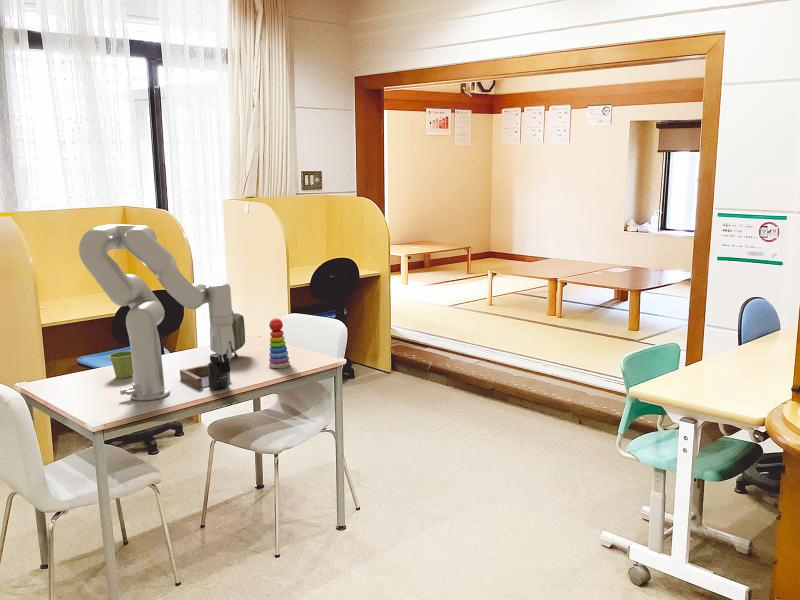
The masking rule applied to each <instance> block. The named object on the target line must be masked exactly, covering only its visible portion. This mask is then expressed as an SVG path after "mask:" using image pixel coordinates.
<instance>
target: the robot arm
mask: <svg viewBox="0 0 800 600" xmlns="http://www.w3.org/2000/svg"><path fill="white" fill-rule="evenodd" d="M113 250H127V251H128V252H129V253H130V254H131V255H133V256H134V257H135V258H136V259H137V260H139V262H140V263H142V264H143V265H144V267H146V268H147V269H148V270H149V271H150V272H151V273H153V274H154V276H155V278H156V279H157V280H158V282H159V283H160V284H161V287H163V289H164V290H165V291H166V292H167V293H168V294H169V295H170V296H171V297H172V298H173V299H175V301H176V302H177V303H179V304H180V305H182V307H185V308H186V309H188V310H196V309H199V308H200V307H201V306H202V305H205V304H208V314H209V315H208V316H209V325H210V326H209V342H210V343H209V344H210V345H209V346H210V350H211V351H212V352H213V353H214V354H215V353H217V354H218V360H219V368H220V373H222V374H223V373H228V372H230V373H231V359H232V358H233V354H234V351H235V343H234V335H233V328H232V324H233V316H232V311H233V305H232V291H231V290H232V289H231V285H230V284H229V283H226V282H215V283H209V282H199V281H198V282H193V283H191V282H190V281H189V280H188V279H187V277H185V276H184V275H183V274H182V273H181V271H180V270H179V268H178V266H177V262H176V258H175V256H174V255H173V254H172V253H171V252H169V251H168V250H167V249H166V248H165V247H164V246H163V245H162V244H160V242H159V241H157V233H156V232H155V231H154V229H152V228H151V227H149V226H148V225H142V224H141V225H140V224H138V225H134V224H103V225H98V226H94V227H91V228H90V229H88V230H87V231H85V233H83V235H82V237H81V239H80V242H79V246H78V253H79V257H80V260H81V263H82V264H83V266H85V268H86V269H87V271H88V272H89V273H90V274H91V275H92V278H94V279H95V281H96V282H97V283H98V285H99V287H100V288H101V289H102V290H103V292H104V293H105V294H106V296H107V297H109V299H110V301H111V302H112V303H114V304H115V305H116V306H118V307H127V306H128V307H129V308H130V309H129V311H128V312H127V313H126V314H127V315H126V316H125V326H126V331H127V334H128V340H129V345H130V351H131V356H132V365H133V383H131V386H129V387H127V388H121V389H120V390H119V394H120V395H121V396H123V395H127V396H129V395H130V398H131V400H134V401H140V402H141V401H142V402H143V401H144V402H145V401H153V400H157V399H159V400H160V399H162V398H165V397H166V396H168V395H169V394H170V393H171V390H170V388H169V387H167V386H165V380H164V378H165V377H164V367H163V358H162V348H161V341H160V340H161V339H160V334H159V331H158V325H160V324H161V323H162V322H163V320H164V318H165V309H164V306H163V305H162V303H161V301H160V300H159V298H157V296H156V295H155V293H154V292H153V291H152V290H151V288H150V287H149V286H148V284H147V283H146V282H145V281H144V280H143V279H142V278H141V277H139V276H138V275H137V274H132V273H131V274H130V273H127V274H126V273H125V271H124V270H123V269H122V268H121V266H120V265H119V263H117V262H116V261H115V260H114V259H113V258H112V256H110V255H109V253H108V251H113Z"/></svg>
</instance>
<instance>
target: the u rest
mask: <svg viewBox="0 0 800 600" xmlns="http://www.w3.org/2000/svg"><path fill="white" fill-rule="evenodd" d="M208 364H209V363H208ZM208 364H201V365H198V366H192V367H188V368H184V369H179V376H180V380H181V381H182V380H183V381H182V382H184V383H185V384H188V385H190V386H191V385H192V387H193V386H194V387H193V388H195V387H196V388H195V389H197V390H199V389H200V388H201V389H204V387H205V388H209V379H208ZM230 373H231V371H230V372H228V377H229V381H230V382H231V374H230Z"/></svg>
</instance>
